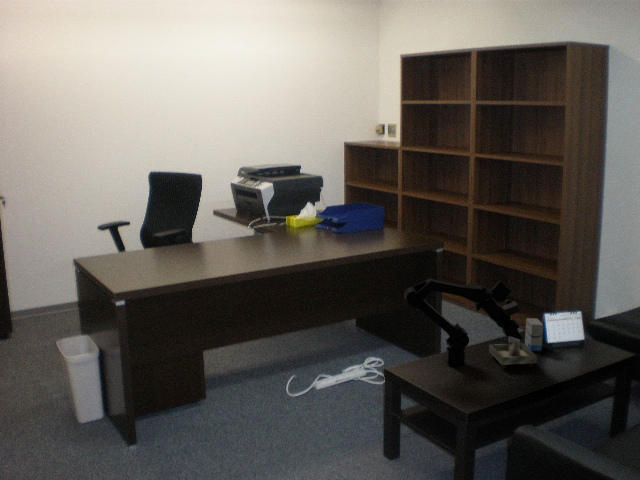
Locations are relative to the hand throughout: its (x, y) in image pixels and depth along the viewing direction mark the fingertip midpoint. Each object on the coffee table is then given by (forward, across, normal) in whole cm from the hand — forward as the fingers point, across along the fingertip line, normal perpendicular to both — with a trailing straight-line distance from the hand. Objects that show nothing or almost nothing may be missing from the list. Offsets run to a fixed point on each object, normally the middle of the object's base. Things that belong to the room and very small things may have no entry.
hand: (519, 336), depth 261 cm
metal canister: (+4, 0, +6) cm, 8 cm away
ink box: (+16, +15, 0) cm, 22 cm away
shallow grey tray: (+6, 0, +10) cm, 11 cm away
